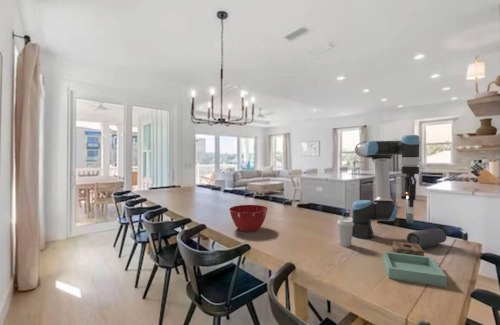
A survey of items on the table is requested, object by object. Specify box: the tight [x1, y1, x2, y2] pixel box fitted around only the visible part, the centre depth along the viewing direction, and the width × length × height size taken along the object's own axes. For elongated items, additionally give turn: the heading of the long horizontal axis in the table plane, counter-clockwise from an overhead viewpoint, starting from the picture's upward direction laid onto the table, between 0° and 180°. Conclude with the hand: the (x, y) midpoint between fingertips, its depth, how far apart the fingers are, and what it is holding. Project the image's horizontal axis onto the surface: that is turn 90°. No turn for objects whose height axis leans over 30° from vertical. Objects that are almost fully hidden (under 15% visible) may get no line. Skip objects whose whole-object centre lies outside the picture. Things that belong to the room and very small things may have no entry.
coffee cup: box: [337, 218, 354, 248], centre depth 153 cm, size 10×10×15 cm
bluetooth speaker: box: [406, 228, 447, 249], centre depth 150 cm, size 23×9×10 cm, turn 111°
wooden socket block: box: [392, 240, 425, 256], centre depth 134 cm, size 12×12×6 cm
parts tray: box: [382, 250, 448, 288], centre depth 117 cm, size 21×21×4 cm
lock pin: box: [404, 191, 414, 224], centre depth 128 cm, size 4×4×15 cm
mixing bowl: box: [228, 204, 268, 233], centre depth 186 cm, size 28×28×16 cm
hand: (409, 212), depth 128 cm, fingers closed on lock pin, 3 cm apart
